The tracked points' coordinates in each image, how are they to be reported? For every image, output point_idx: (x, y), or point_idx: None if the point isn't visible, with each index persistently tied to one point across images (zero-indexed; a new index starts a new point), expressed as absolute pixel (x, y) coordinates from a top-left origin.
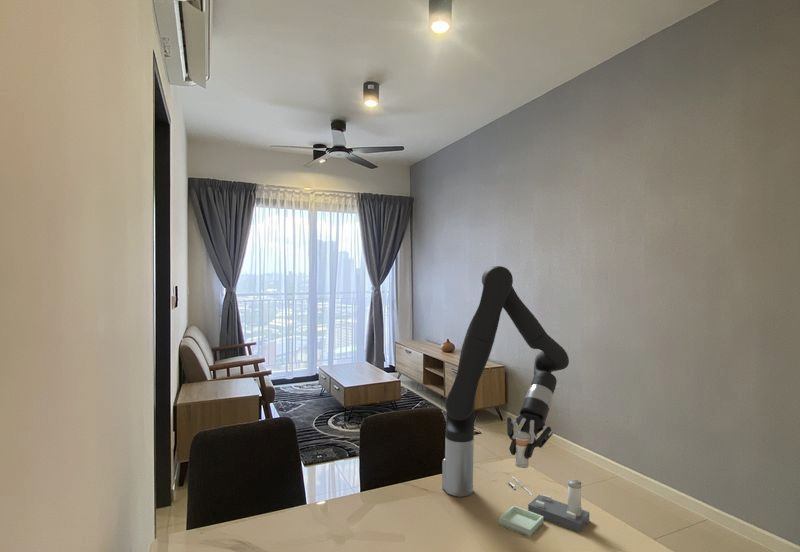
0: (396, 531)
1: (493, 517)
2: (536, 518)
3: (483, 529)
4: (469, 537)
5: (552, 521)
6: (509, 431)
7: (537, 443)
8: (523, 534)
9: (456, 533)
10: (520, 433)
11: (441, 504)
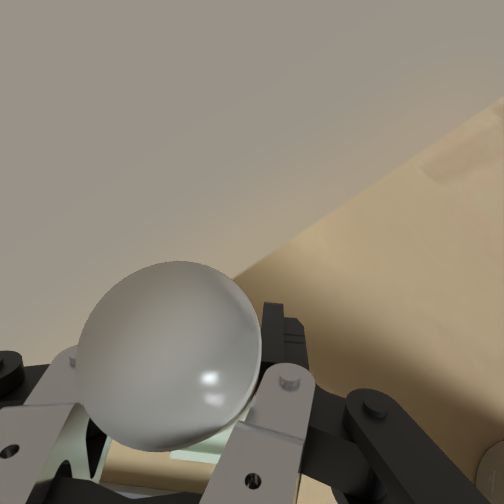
0: (460, 183)
1: (323, 384)
2: (196, 450)
3: (314, 304)
4: (324, 253)
5: (148, 488)
6: (395, 434)
7: (13, 356)
8: None
9: (357, 250)
10: (195, 331)
11: (490, 355)
